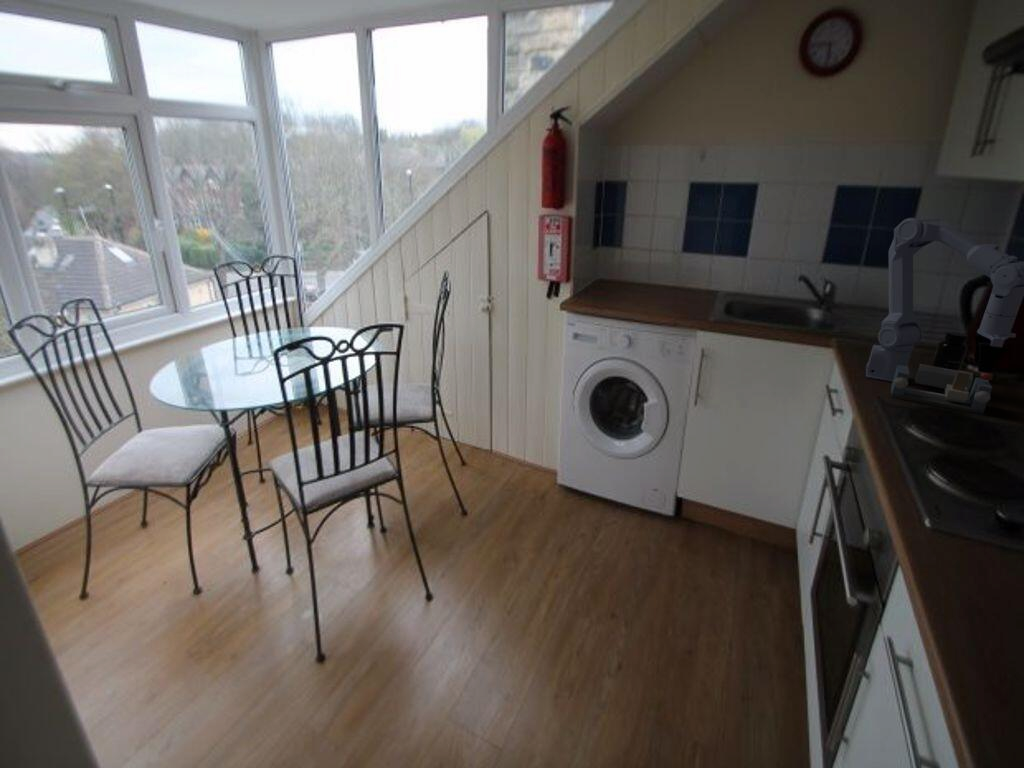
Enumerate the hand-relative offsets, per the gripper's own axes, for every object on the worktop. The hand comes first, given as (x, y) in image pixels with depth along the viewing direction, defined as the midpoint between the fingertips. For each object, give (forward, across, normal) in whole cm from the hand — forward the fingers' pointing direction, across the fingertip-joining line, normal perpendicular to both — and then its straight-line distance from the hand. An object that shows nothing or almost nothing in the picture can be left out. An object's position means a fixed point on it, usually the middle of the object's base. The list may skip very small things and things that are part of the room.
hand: (981, 367), depth 133 cm
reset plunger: (+3, 0, -1) cm, 3 cm away
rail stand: (+10, 0, +7) cm, 13 cm away
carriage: (+9, 0, +3) cm, 10 cm away
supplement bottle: (+11, +27, +3) cm, 29 cm away
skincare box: (+8, +13, -2) cm, 16 cm away
